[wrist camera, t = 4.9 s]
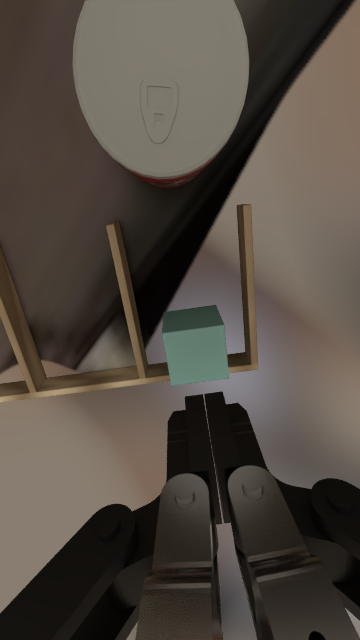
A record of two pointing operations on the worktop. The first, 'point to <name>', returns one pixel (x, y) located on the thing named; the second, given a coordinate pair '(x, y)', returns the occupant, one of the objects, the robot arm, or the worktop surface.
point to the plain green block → (195, 345)
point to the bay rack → (7, 305)
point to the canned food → (161, 82)
